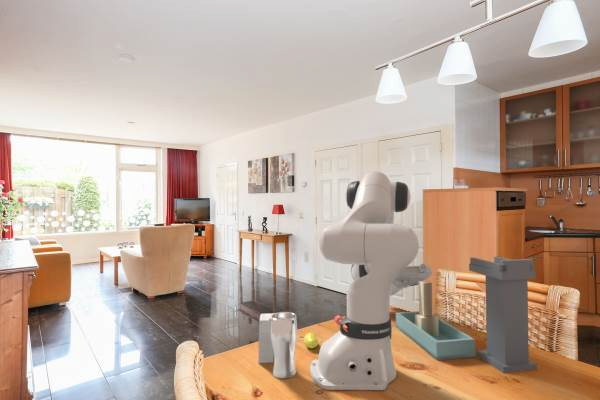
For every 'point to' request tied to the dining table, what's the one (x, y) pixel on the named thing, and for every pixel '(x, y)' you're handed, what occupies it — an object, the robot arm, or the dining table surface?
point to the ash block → (426, 310)
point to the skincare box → (265, 339)
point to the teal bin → (437, 338)
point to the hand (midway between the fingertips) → (412, 266)
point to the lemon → (311, 340)
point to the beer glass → (284, 344)
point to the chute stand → (506, 312)
